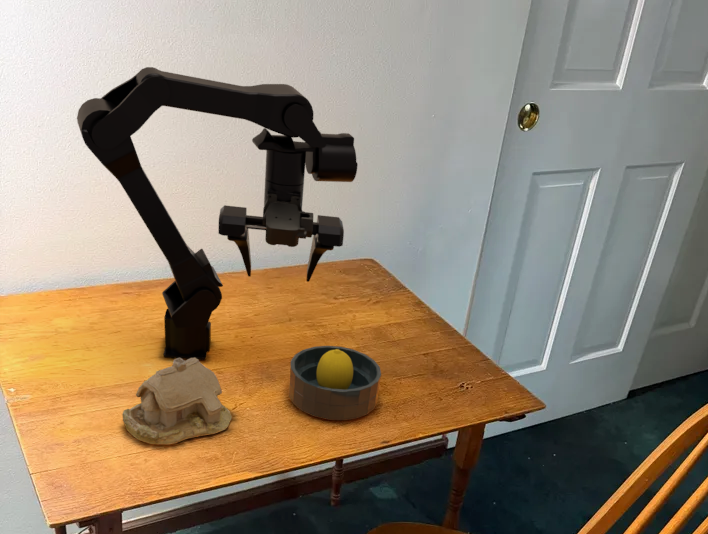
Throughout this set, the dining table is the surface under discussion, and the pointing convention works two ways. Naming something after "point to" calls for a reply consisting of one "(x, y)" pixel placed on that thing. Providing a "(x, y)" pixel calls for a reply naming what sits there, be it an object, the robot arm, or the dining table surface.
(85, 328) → the dining table surface
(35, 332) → the dining table surface
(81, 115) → the robot arm
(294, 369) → the grey pet bowl
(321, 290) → the dining table surface
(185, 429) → the ceramic model
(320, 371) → the lemon
